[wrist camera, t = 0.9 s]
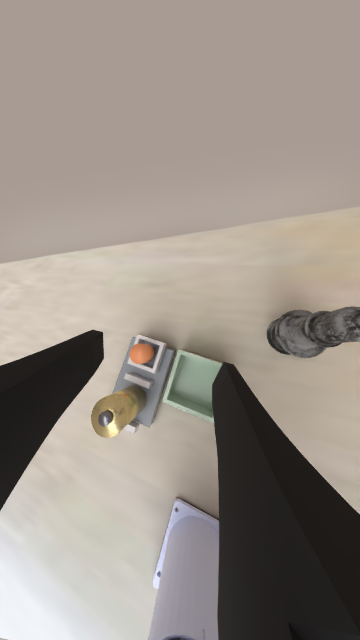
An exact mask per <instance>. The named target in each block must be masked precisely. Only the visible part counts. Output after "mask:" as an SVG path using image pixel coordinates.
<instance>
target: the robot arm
mask: <svg viewBox="0 0 360 640" xmlns="http://www.w3.org/2000/svg"><path fill="white" fill-rule="evenodd" d="M103 359H104V348H103V332H100V331H96V330H91V331H88V332H85V333H83V334H81V335H78V336H76V337H74V338H71V339H69V340H67V341H64V342H62V343H59V344H57V345H55V346H52V347H50V348H47V349H45V350H42V351H40V352H37V353H34V354H32V355H29V356H26V357H24V358H21V359H19V360H16V361H13V362H10V363H7V364H4V365H1V366H0V510H1V509H2V507H3V505H4V504H5V502H6V500H7V499H8V497H9V495H10V494H11V492H12V490H13V489H14V487H15V486H16V484H17V482H18V481H19V479H20V477H21V476H22V474H23V473H24V471H25V469H26V468H27V466H28V465H29V463H30V461H31V460H32V458H33V457H34V455H35V454H36V452H37V451H38V449H39V447H40V446H41V444H42V443H43V441H44V440H45V438H46V437H47V435H48V434H49V432H50V431H51V429H52V428H53V426H54V425H55V424H56V422H57V421H58V419H59V418H60V417H61V415H62V414H63V413H64V411H65V410H66V409H67V407H68V406H69V405H70V404H71V402H72V401H73V400H74V399H75V397H76V396H77V395H78V394H79V392H80V391H81V390H82V389H83V387H84V386H85V385H86V384H87V382H88V381H89V380H90V379H91V377H92V376H93V375H94V373H95V372H96V370H97V369H98V367H99V365H100V364H101V362H102V360H103ZM212 408H213V417H214V426H215V435H216V444H217V455H218V480H219V521H218V520H217V519H215V518H213V517H211V516H209V515H208V514H206V513H204V512H202V511H200V510H199V509H197V508H195V507H193V506H191V505H190V504H188V503H186V502H184V501H182V500H181V499H178V498H177V499H176V500H175V502H174V505H173V509H172V513H171V516H170V520H169V524H168V527H167V531H166V535H165V538H164V542H163V545H162V549H161V553H160V556H159V560H158V564H157V567H156V571H155V575H154V578H153V586H154V588H155V589H157V590H158V592H157V597H156V602H155V607H154V612H153V617H152V622H151V627H150V632H149V637H148V640H360V514H359V513H358V512H357V511H356V510H354V509H353V508H352V507H351V506H350V505H349V504H348V503H347V502H346V501H345V499H344V498H343V497H342V496H341V495H340V494H339V493H338V492H337V491H336V490H335V489H334V488H333V487H332V486H331V485H330V484H329V483H328V482H327V481H326V480H325V479H324V478H323V477H322V476H321V475H320V473H319V472H318V471H317V470H316V469H315V468H314V467H313V466H312V465H311V464H310V463H309V462H308V461H307V459H306V458H305V457H304V456H303V455H302V454H301V453H300V452H299V451H298V449H297V448H296V447H295V446H294V445H293V444H292V442H291V441H290V440H289V439H288V438H287V437H286V435H285V434H284V433H283V432H282V431H281V429H280V428H279V427H278V426H277V424H276V423H275V422H274V421H273V419H272V418H271V417H270V415H269V414H268V413H267V411H266V410H265V409H264V407H263V406H262V405H261V403H260V402H259V401H258V399H257V398H256V396H255V395H254V394H253V392H252V391H251V389H250V388H249V386H248V385H247V383H246V382H245V381H244V379H243V378H242V376H241V375H240V373H239V372H238V370H237V369H236V367H235V366H234V364H230V363H226V362H223V364H222V366H221V368H220V370H219V372H218V374H217V376H216V378H215V380H214V382H213V384H212ZM176 508H178V509H176ZM0 640H6V639H2V638H0Z"/></svg>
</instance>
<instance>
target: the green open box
mask: <svg viewBox="0 0 360 640" xmlns="http://www.w3.org/2000/svg"><path fill="white" fill-rule="evenodd" d="M222 364H223V363H221V362H218V361H215V360H212V359H209V358H206V357H203V356H200V355H197V354H194V353H191V352H188V351H185V350H180V349H178V352H177V355H176V358H175V362H174V365H173V368H172V371H171V375H170V378H169V381H168V384H167V387H166V391H165V394H164V397H163V400H162V402H163V403H166V404H168V405H171V406H173V407H175V408H178V409H180V410H183V411H185V412H187V413H190V414H192V415H194V416H197V417H199V418H202V419H204V420H206V421H209V422H211V423H214V417H213V408H212V384H213V382H214V380H215V378H216V376H217V374H218V372H219V370H220V368H221V366H222Z"/></svg>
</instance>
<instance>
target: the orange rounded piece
mask: <svg viewBox="0 0 360 640" xmlns="http://www.w3.org/2000/svg"><path fill="white" fill-rule="evenodd" d="M154 354H155V352H154V349H153V347H152V346H151V345H148V344H140V343H139V344H135V345H134V346H133V347H132V348H131V350H130V359H131V360H132V362H134V363H136V364H142V363H147V362H150V361H151V360H152V359H153V357H154Z"/></svg>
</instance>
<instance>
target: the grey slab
mask: <svg viewBox="0 0 360 640" xmlns="http://www.w3.org/2000/svg"><path fill="white" fill-rule="evenodd" d="M139 343H140V344H148V345H151V346H152V347H153V349H154V352H155V354H154V357H153V359H152V360H151V361H150V362H147V363H142V364H136V363H134V362H132V360H131V359H130V350H131V348H132V347H133V346H134V345H135V344H139ZM166 345H167V343H163V342H160V341H157V340H154V339H151V338H148V337H145V336H142V335H138V334H137V337H136V338H135V337H133V338H132V340H131V343H130V346H129V349H128V352H127V354H126V357H125V360H124V363H123V365H122V368H121V371H120V374H119V377H118V379H117V382H116V385H115V388H114V390H113V393H115V392H117V391H120V390H122V389H124V388H126V387H128V386H131V385H137V386H139V387H141V388H142V389H143V390H144V392H145V394H146V405H145V407H144V409H143V410H142V411H141V412H140V413H139V414H138V415H137V416H136V417H135V418H134V419H133V420H135V421H137V422H139V423H141V424H143V425H145V426H147V427H150V426H151V424H152V423H153V420H154V417H155V414H156V411H157V408H158V404H159V401H160V398H161V395H162V392H163V389H164V385H165V382H166V379H167V376H168V373H169V369H170V366H171V363H172V360H173V357H174V353H175V350H172V349H169V348H166ZM113 393H112V394H113ZM133 420H132V421H131V422H130V423H129V424H128V425H127V426H125V427H124V428H123V429H124V430H126V431H128V432H130V433H132V434H134V433H135V432H136V431H137V430H138V427H139V423H137V422H135V421H133Z"/></svg>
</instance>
